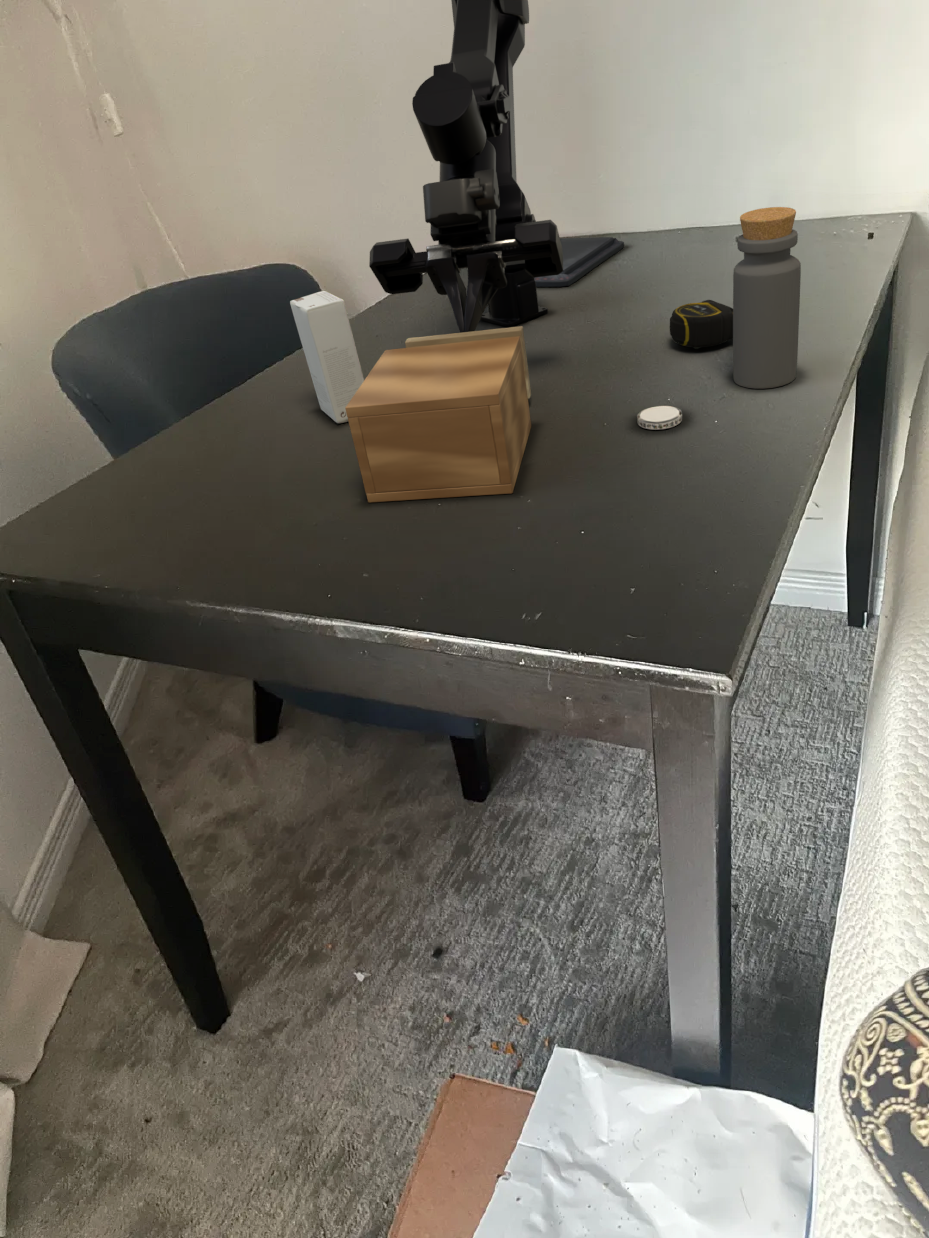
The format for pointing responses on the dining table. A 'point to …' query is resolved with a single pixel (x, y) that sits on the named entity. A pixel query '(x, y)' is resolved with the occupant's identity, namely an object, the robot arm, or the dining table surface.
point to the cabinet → (442, 421)
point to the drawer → (475, 337)
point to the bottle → (766, 300)
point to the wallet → (580, 259)
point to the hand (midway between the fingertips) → (465, 337)
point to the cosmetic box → (328, 351)
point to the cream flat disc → (659, 417)
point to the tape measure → (702, 324)
